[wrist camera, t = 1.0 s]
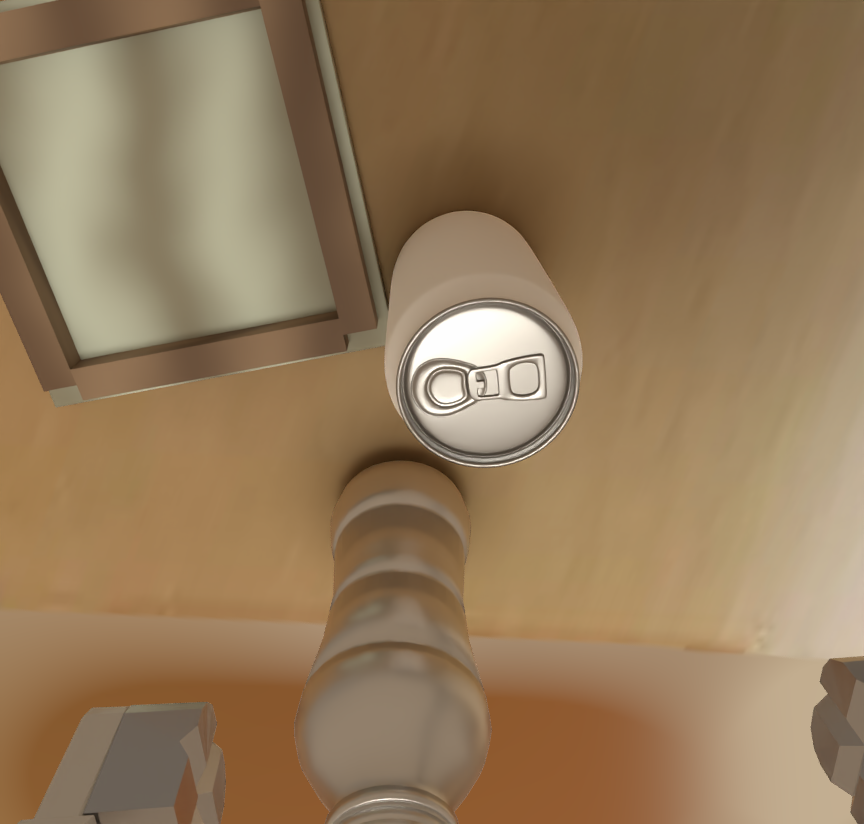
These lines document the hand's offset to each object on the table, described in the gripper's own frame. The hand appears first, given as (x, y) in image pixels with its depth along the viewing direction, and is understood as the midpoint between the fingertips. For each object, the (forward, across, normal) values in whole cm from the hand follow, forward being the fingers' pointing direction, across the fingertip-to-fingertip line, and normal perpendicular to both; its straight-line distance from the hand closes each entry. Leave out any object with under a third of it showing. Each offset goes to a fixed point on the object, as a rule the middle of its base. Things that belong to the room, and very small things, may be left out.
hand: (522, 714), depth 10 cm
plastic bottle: (+26, +2, +12) cm, 29 cm away
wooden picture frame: (+26, +11, -4) cm, 28 cm away
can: (+26, -2, +1) cm, 26 cm away
